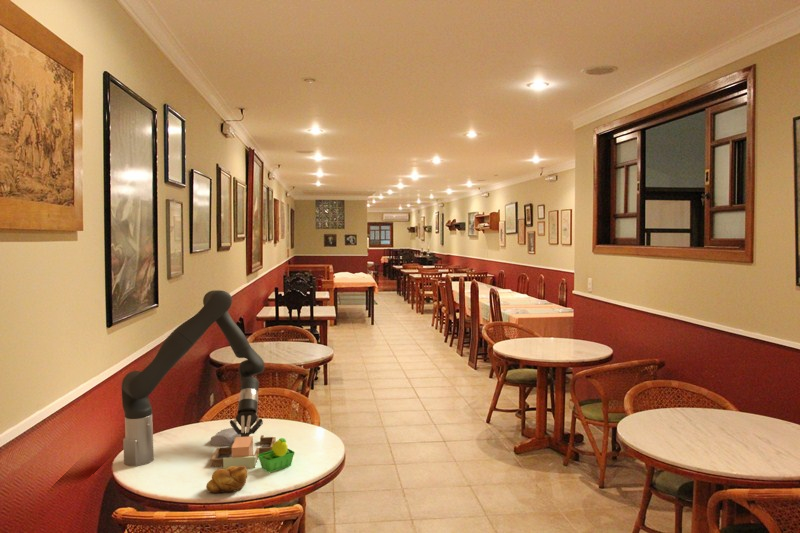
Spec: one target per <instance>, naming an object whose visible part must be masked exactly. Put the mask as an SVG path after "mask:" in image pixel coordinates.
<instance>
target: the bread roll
mask: <svg viewBox="0 0 800 533" xmlns="http://www.w3.org/2000/svg"><path fill="white" fill-rule="evenodd" d="M247 479H248V468H247V469H246V467H245V466H238V467H236V466H230V467H228V468H226V469H223V468H218V469H215V471H213V473H212V475H211V479H210V480H209V481H207V483H206V484H205V485H206V490H207V492H209V493H213V494H218V493H222V492H225V493H233V492H237V491H240V490H241V489H243V488H244V487H245V485H246V483H247Z"/></svg>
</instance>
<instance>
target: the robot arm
mask: <svg viewBox="0 0 800 533" xmlns="http://www.w3.org/2000/svg"><path fill="white" fill-rule="evenodd" d="M232 303H233V298H232V295H231V294H230V293H229V292H227V291H226V290H220V289H218V290H215V289H213V290H210V291H207V292H206V293H205V294H204V296H203V299H202V304H203V306H202V308H201V309H200V310H199V311H198V312H196V314H194V315H193V316H191V317H190V318H188V319H187V320H185V321H184V322H182V323H181V324H179V325H178V326H177V327H176V328H175V329H174V330H173V331H172V332H171V333H170V334H169V335H168V336H167V337H166V339H165V340H164V341H162V344H161V346H160V347H159V349H158V351H157V353H156V355H155V356H154V358H153V359H152V361H151V362H150V363H149V364H148V365H147V366H146V367H145V368H144V369H143V370H141V371H140V370H133V371H130V372H128V373H126V375H125V376H124V377H123V379H122V381H121V400H122V408H123V411H124V413H123V414H124V427H125V428H124V432H125V436H124V438H123V439H122V440H123V442H122V445H123V447H122V448H123V464H124V465H126V464H127V466H132V467H138V466H143V465H146V464H150V463H151V462H152V461H154V428H153V427H154V426H153V407H152V403H151V402H150V399H149V398H150V397H149V396H150V395H151V394H152V393H153V391H154V390H155V389H156V388H157V386H159V384H160V382H162V380H163V378H164V377H165V376H166V375H167V374H168V373H169V371H170V370H172V368H174V366H176V364H178V362H179V361H180V360H181V359H182V358H183V357H184V356H185V355H186V354H187V353H188V352H189V350H191V348H192V347H193V346H194V345H195V344H196V343H197V342H198V341H199V339H201V338H202V336H203V335H204V334H205V333H206V332H207V331H208V329H209V328H210V327H212V325H213V324H214V323H216V324H217V326H218V327H219V328H220V329H219V330H221V333H223V335H224V337H225V339H226V341H227V342H228V344H229V346H230V348H231V350H232V352H233V353H234V355H235V357H236V358H238V359H245V360H243V361H241V362H240V363H239V365H238V373H239V379H240V392H239V396H238V405H237V412H236V416H235V418H234V419H230V421H229V424H230V426H231V428H233V429H234V430H235V431H236V433H237V434H240V435H241V437H248V436H250V435H254V434H255V433H256V432H257V431H258V430H259V429H260V427H261V426H262V425H263V423H264V421H263V419H262V418H259V416H258V410H259V409H258V407H259V388H260V381H259V379H258V378H257V377H253V376H256V375H259V374H262V373H263V372H264V371H265V368H266V367H265V366H266V364H265V362H264V360H263V358H262V357H261V355H260V354H258V353H257V352H256V351H255V350H254V348H253V347H252V346H251V344H250V342H249V341H248V338H247V336H246V335H245V333H244V332H243V331H242V330H241V328H240V327H239V326H238V325H237V323H236V322H235V320H234V319H233V318H232V316H231V315H230V313H229V310H230V308H231V307H232ZM237 424H238V425H239V426H240V427H241V428H240V427H239V426H237ZM240 429H241V430H240Z"/></svg>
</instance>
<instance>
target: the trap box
mask: <svg viewBox="0 0 800 533" xmlns="http://www.w3.org/2000/svg"><path fill="white" fill-rule="evenodd" d="M235 439H236V437H235ZM235 439H234V441H235ZM259 439H260V440H259V442H260V445H261V446H260V447H256V448H255V452H254V453H253V456H255V466H257V464H258V461H257V460H259V458H258V455H259V454H262V453H265V452H268V451H272V445H273V444H274V443H275V442H277V441H276V439H277V438H276V436H274V437H273V436H266V437H265V436H264V435H263V434H261V435H260V438H259ZM234 441H233V443H232V445H230V446H228V447H227V446H225V447H217V448H216V450H215V452H214V453H213V455H212V457H211V459H210V465H211V467H214V468H215V467H223V458H228V457H230V456H231V455H232V446H233V444H234ZM256 463H257V464H256Z"/></svg>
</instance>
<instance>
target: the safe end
mask: <svg viewBox="0 0 800 533" xmlns="http://www.w3.org/2000/svg"><path fill="white" fill-rule="evenodd" d="M230 466H236V467H238V466H245V467H246V468H247V469H256V467H255V456H254V455H253V456H246V457H232V456H231V457H228V458H223V466H222V469H226V468H228V467H230Z"/></svg>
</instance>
